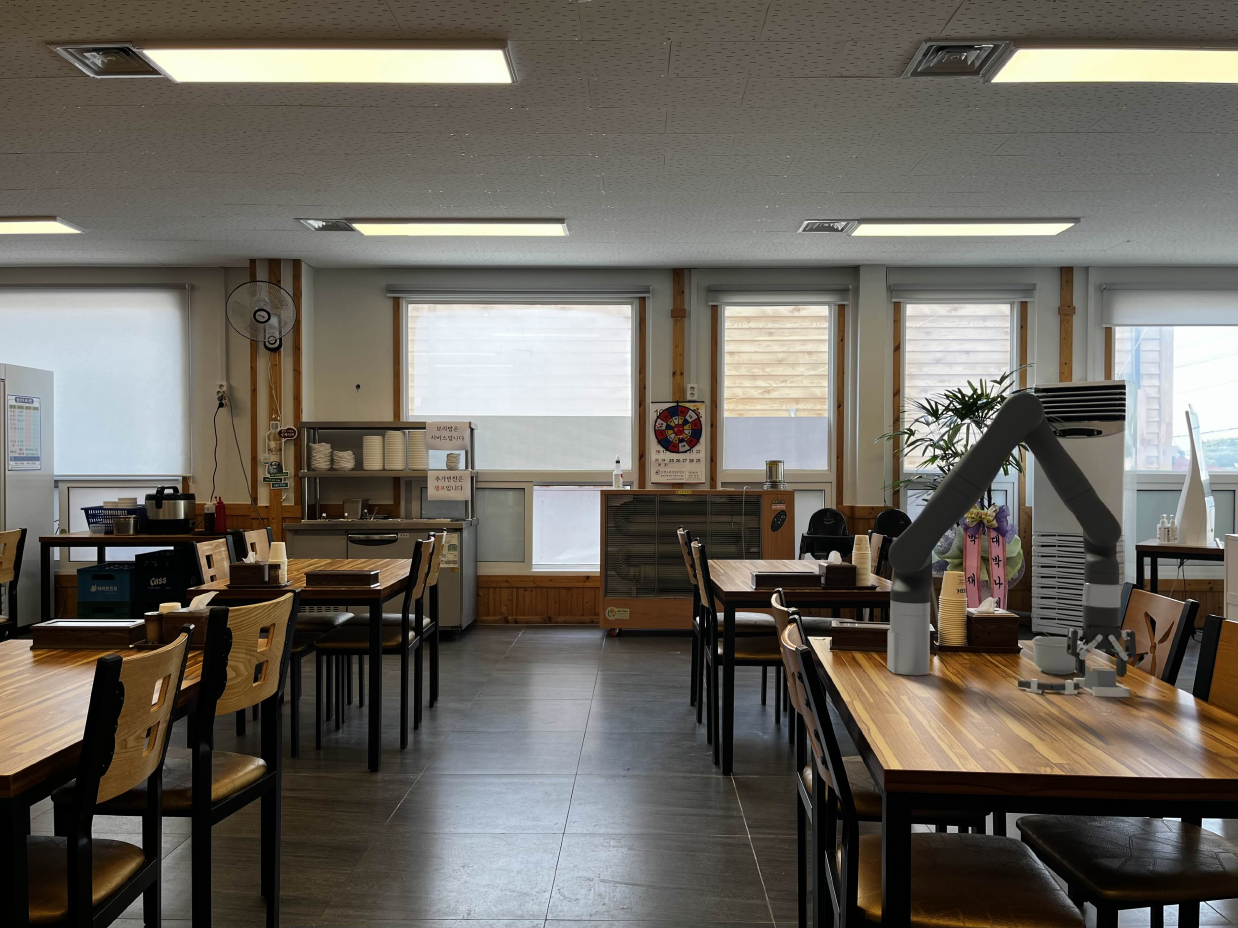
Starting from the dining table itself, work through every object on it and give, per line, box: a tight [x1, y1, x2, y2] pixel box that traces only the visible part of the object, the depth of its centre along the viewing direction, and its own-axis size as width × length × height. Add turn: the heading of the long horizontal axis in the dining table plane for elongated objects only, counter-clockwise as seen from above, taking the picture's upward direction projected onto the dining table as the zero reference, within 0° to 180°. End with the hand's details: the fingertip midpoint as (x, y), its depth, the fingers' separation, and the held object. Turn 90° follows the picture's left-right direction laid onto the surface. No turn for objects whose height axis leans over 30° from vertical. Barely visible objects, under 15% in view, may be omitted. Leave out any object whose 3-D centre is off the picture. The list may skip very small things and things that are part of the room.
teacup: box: [1031, 635, 1082, 676], centre depth 226 cm, size 14×11×8 cm
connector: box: [1084, 664, 1117, 690], centre depth 203 cm, size 4×6×5 cm, turn 178°
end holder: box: [1073, 677, 1131, 698], centre depth 203 cm, size 8×10×2 cm
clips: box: [1025, 678, 1078, 696], centre depth 203 cm, size 11×6×3 cm, turn 88°
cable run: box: [1017, 679, 1080, 692], centre depth 203 cm, size 13×4×1 cm, turn 88°
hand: (1100, 675), depth 203 cm, fingers open, 8 cm apart
